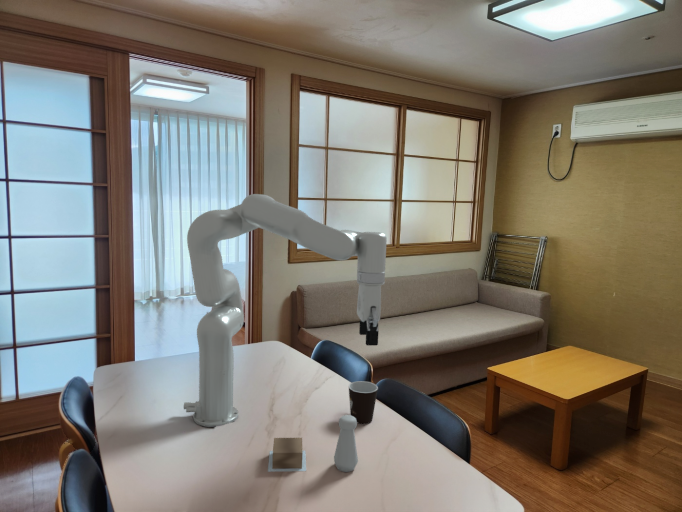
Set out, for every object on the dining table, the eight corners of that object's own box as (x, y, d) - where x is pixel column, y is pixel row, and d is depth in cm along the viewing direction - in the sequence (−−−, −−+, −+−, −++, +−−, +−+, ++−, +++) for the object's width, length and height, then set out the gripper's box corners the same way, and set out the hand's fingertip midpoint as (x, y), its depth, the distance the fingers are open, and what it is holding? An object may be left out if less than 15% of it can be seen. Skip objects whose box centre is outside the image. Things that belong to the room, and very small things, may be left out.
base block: (272, 468, 110) (272, 452, 110) (273, 452, 117) (274, 437, 117) (301, 468, 111) (302, 452, 111) (301, 452, 118) (302, 437, 117)
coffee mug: (374, 427, 134) (375, 394, 132) (344, 423, 135) (346, 390, 134) (378, 410, 145) (380, 379, 144) (351, 406, 147) (353, 376, 145)
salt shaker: (332, 461, 115) (335, 411, 114) (355, 461, 116) (358, 411, 114) (334, 475, 109) (336, 423, 108) (358, 475, 110) (361, 423, 108)
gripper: (352, 272, 134) (349, 330, 136) (362, 283, 117) (360, 349, 119) (377, 273, 135) (375, 330, 137) (392, 283, 118) (388, 349, 120)
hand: (368, 339), depth 128 cm, fingers open, 9 cm apart
